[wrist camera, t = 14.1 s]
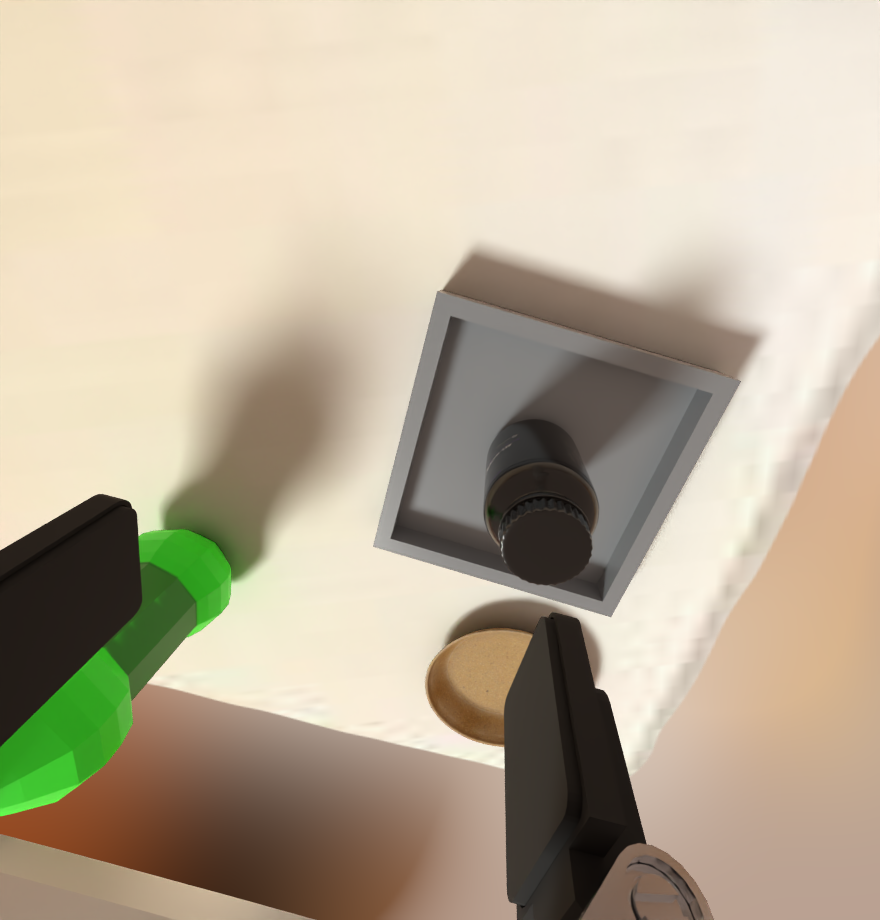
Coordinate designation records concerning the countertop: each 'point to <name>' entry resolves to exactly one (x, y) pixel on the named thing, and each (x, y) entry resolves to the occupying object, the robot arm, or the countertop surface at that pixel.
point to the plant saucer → (476, 682)
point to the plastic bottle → (115, 673)
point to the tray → (555, 400)
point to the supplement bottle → (539, 502)
